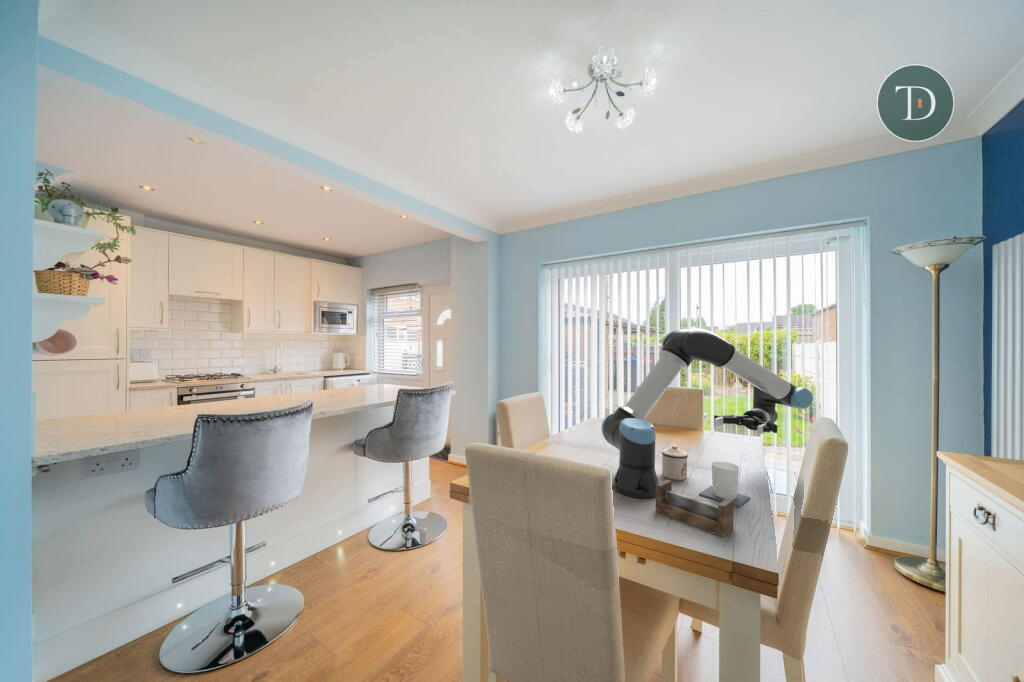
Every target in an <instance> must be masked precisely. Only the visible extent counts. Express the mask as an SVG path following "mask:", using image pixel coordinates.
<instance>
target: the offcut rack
mask: <svg viewBox="0 0 1024 682" xmlns="http://www.w3.org/2000/svg"><path fill="white" fill-rule="evenodd" d="M672 482H673V480H672V479H669V478H667V479H665V480H663V481H661V482H659V484H657V485H656V497H655V512H656V513H658V514H661V515H665V516H667V517H670V518H672V519H675V520H678V521H680V522H683V523H686V524H688V525H690V526H694V527H697V528H699V529H701V528H702V530H704V529H705V531H707V530H708V531H707V532H709V531H711V532H710V533H712V532H714V533H713V534H715V533H716V534H715V535H717V534H719V535H718V536H720V535H722V536H721V537H723V536H724V535H725V536H727V533H728V532H729V531H730V532H731V531H732V530H733V529H734V518H735V517H734V515H735V513H734V509H735V508H734V507H735V506H734V499H731V498H727V499H725V500H724V501H723V502H720V503H718V504H714V503H711V502H709V501H704V500H702V499H698V498H695V497H693V496H689V495H686V494H683V493H681V492H676V491H674V490H673V489H672V487H673V486H672V484H673V483H672ZM731 529H732V530H731ZM730 532H729V533H730ZM729 533H728V534H729ZM725 536H724V537H725Z"/></svg>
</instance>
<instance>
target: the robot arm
mask: <svg viewBox="0 0 1024 682" xmlns="http://www.w3.org/2000/svg"><path fill="white" fill-rule="evenodd" d="M661 343H662V344H661V345H662V347H661V349H660V351H659V354H660V355H659V356H660V358H658V360H657V362H656V363H655V364H654V366H653V367H652V369H651V370H650V371H649V373H648V374H647V375H646V377H645V378H644V379H643V381H642V382H641V383H640V385H639V386H638V387H637V389H636V390H635V391H634V393H633V394H632V396H631V397H630V398H629V399H628V401H627V403H626V404H625V405H621V406H618V408H617V409H616V410H615V412H614V413H610V414H608V415H607V416H606V417H604V418H603V420H602V423H601V428H600V429H601V434H602V436H603V438H604V440H606V442H607V443H608V444H609V445H611V446H612V447H615V448H616V449H617V450H618V451H619V464H618V468H617V471H616V474H615V476H614V479H613V488H614V490H615V489H616V490H617V492H618V493H619V492H620V494H622V495H625V496H628V497H632V498H637V499H651V498H656V485H657V484H659V483H660V482H659V479H658V475H657V472H656V468H655V467H656V439H657V436H656V428H655V426H654V425H653V424H652V422H650V421H648V420H646V418H647V417H648V415H649V414H650V413H651V411H652V410H653V409H654V407H655V406H656V404H657V403H658V401H659V400H660V399H661V398H662V396H663V395H664V393H665V392H666V391H667V390H668V388H669V386H670V385H672V383H673V381H674V380H675V379H676V377H677V376H678V374H679V373H680V371H681V370H686V369H688V368H689V366H690V365H691V364H692V363H693V361H700V362H704V363H708V364H711V365H712V366H714V367H716V368H723V369H725V370H727V371H728V372H730V373H732V374H733V375H735V376H736V377H738V378H740V379H741V380H743V381H745V382H747V383H748V384H750V385H752V386H753V387H752V388H753V391H752V393H753V397H752V399H753V401H752V409H750V410H746V411H745V412H743V414H742V415H735V414H734V413H733V414H717V415H715V414H714V415H713V426H714V428H715V427H720V426H721V427H722V426H723V425H729V424H730V425H736V426H743V427H745V428H746V429H748V430H751V431H757V433H756V435H758V436H760V435H761V436H762V435H763V434H765V433H774V434H777V433H778V424H776V422H777V420H778V418H779V413H778V412H777V410H776V405H781V406H786V407H790V408H794V409H804V410H805V409H807V408H809V407H810V406H811V405H812V402H813V400H814V398H813V397H814V396H813V393H812V392H811V390H809V389H808V388H805V387H802V386H796V385H794V384H792V383H791V382H789V381H787V380H785V378H783V377H781V376H780V375H777V374H776V373H774V372H772V371H771V370H770V369H768V368H766V367H765V366H763V365H762V364H759V363H758V362H756V361H755V360H754V359H752V358H750V357H748V356H747V355H745V354H743V353H741V352H740V351H739V350H737V349H736V346H735V345H734V344H732V342H729V341H728V340H727V339H725V338H723V337H721V336H719V335H717V334H715V333H714V332H712V331H709V330H707V329H703V328H690V329H687V328H686V329H685V328H680V329H675V330H672V331H670V332H668V333H667V334H666V335H665V336H664V338H663V340H662V342H661ZM616 490H615V491H616Z"/></svg>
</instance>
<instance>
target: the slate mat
mask: <svg viewBox="0 0 1024 682" xmlns="http://www.w3.org/2000/svg"><path fill="white" fill-rule="evenodd" d="M698 495H699V496H700V497H703V496H704V498H707V499H710V500H713V499H714V500H713V501H716V500H717V501H716V502H719V501H720V503H721V502H723V501H724V500H725V499H724V498H720V497H717V496H716V495H714V493H713V485H710V486H708V487H707V488H706V489H704V490H702V491H701V492H699V493H698ZM750 499H751V497H750V496H747V495H744V494H741V493H738V492H737V497H736V499H734V507H735V506H736V508H741V507H742V506H744V504H745V503H747V502H749V500H750ZM746 501H747V502H746ZM741 505H742V506H741ZM740 506H741V507H740Z"/></svg>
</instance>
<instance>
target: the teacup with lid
mask: <svg viewBox="0 0 1024 682" xmlns="http://www.w3.org/2000/svg"><path fill="white" fill-rule="evenodd" d="M661 455H662V456H661V458H662V459H661V462H662V464H661V475H662V476H663V477H664V478H665V479H666V478H667V479H668V480H672V479H673V480H674V481H684V480H686V479H687V478H688V457H689V456H688V453H687V452H686V451H684V450H682V449H680V448H678V445H675V444H674V445H673V444H672V445H671V447H667V448H665V449H663V450H662V451H661ZM673 480H672V481H673Z"/></svg>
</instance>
